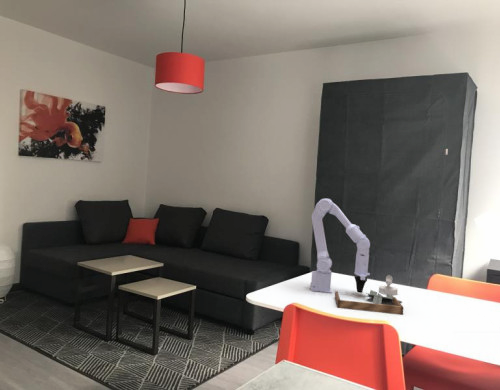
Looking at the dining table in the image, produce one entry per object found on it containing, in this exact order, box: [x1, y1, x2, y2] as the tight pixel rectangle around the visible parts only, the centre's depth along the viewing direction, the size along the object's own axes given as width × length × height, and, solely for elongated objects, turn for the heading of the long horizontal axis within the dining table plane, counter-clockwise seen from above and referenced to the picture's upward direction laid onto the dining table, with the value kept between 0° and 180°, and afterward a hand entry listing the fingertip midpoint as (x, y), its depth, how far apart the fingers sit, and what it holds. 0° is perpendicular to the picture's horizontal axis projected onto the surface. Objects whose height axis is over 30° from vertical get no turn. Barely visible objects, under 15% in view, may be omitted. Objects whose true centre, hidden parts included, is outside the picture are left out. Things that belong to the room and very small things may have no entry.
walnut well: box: [334, 290, 404, 315], centre depth 178 cm, size 26×16×3 cm, turn 82°
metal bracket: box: [366, 289, 403, 304], centre depth 188 cm, size 14×6×15 cm
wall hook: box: [378, 274, 399, 296], centre depth 204 cm, size 9×10×10 cm
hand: (359, 292), depth 195 cm, fingers closed
